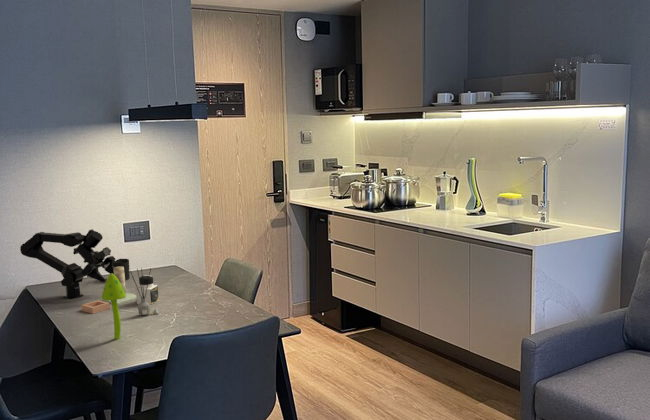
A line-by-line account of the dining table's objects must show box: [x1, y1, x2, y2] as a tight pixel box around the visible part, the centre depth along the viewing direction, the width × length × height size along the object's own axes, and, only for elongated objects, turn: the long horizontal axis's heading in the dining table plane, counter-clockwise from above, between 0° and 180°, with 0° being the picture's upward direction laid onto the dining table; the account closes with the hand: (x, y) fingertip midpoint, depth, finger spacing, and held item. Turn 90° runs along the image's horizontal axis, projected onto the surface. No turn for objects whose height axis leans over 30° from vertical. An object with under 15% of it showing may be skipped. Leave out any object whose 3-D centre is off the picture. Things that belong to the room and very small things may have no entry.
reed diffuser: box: [129, 267, 160, 316], centre depth 260 cm, size 10×7×20 cm
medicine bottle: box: [135, 274, 160, 306], centre depth 278 cm, size 7×7×12 cm
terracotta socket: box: [80, 299, 111, 314], centre depth 270 cm, size 8×8×2 cm
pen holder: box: [114, 258, 131, 282], centre depth 322 cm, size 9×9×10 cm
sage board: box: [99, 292, 137, 306], centre depth 285 cm, size 13×13×1 cm
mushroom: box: [101, 273, 126, 340], centre depth 231 cm, size 8×8×25 cm
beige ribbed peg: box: [114, 266, 127, 299], centre depth 284 cm, size 4×4×14 cm
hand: (111, 279), depth 285 cm, fingers open, 9 cm apart
